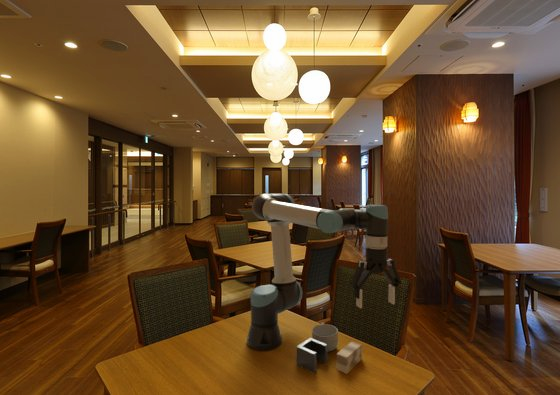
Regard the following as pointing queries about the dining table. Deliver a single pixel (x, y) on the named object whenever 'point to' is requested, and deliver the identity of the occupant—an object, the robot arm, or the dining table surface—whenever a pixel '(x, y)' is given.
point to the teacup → (326, 335)
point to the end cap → (311, 354)
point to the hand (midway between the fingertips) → (375, 304)
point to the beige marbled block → (349, 357)
